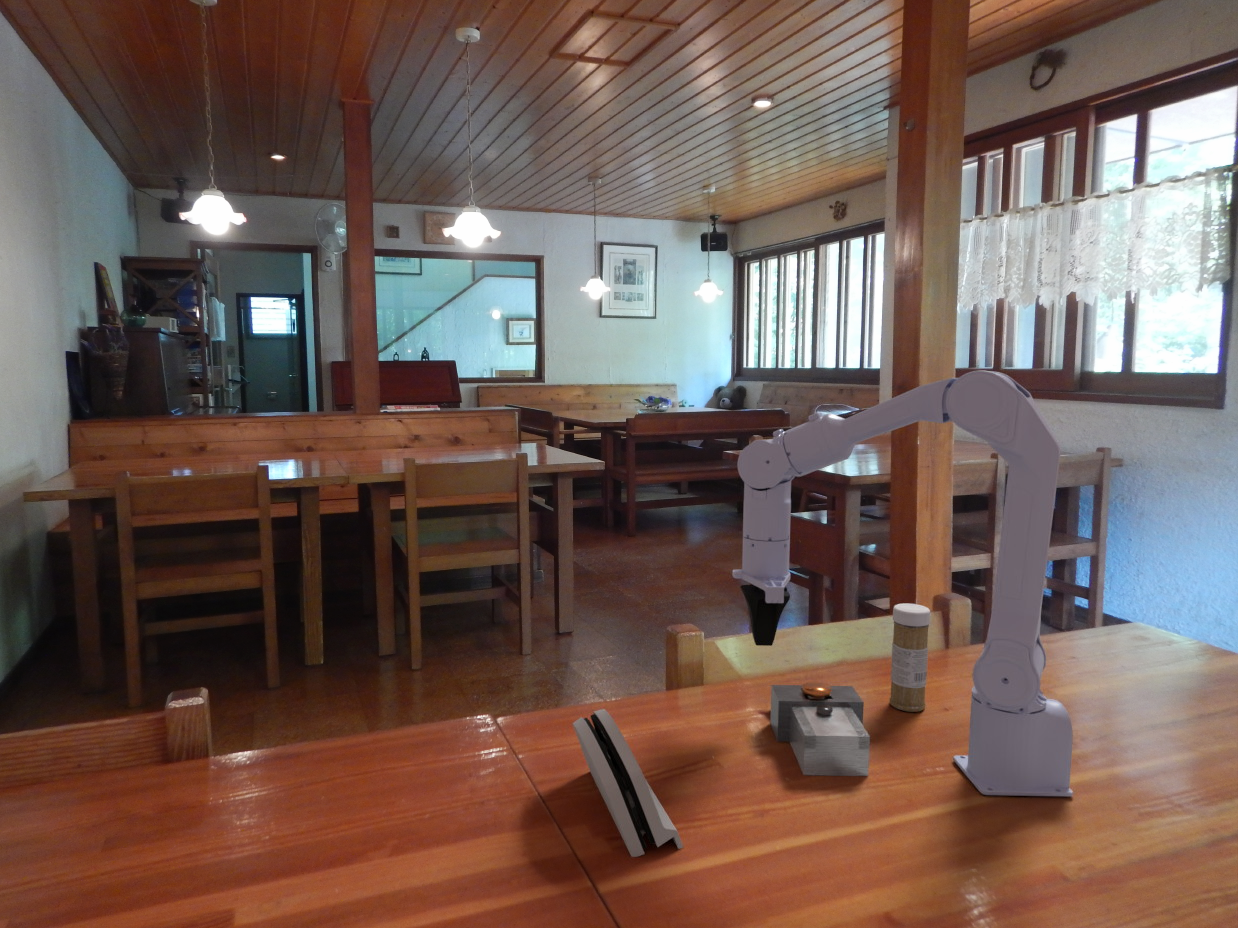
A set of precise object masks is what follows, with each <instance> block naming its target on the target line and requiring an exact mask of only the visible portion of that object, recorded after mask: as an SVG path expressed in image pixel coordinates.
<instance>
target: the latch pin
mask: <svg viewBox="0 0 1238 928" xmlns="http://www.w3.org/2000/svg"><path fill="white" fill-rule="evenodd" d="M802 685H803V686H802V692H803V693H804V694H805V695H807V696H808V699H825V697H829V696H830V695H831V687H830V686H831V685H828V684H826V683H823V682H818V681H810V682H809V681H808V682H805V683H803V684H802Z"/></svg>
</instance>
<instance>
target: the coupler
mask: <svg viewBox="0 0 1238 928" xmlns="http://www.w3.org/2000/svg"><path fill="white" fill-rule="evenodd" d="M802 686H803V684H771V693H770V694H771V695H770V726H771V728H772V731H773V734H774V737H775V739H776V741H777V742H780V743H781V742H785V743H786V742H787V743H790V712H791V705H798V706H818V705H828V706H850V707H851V708H852V710H853V711H854V713H855V714H856V716H857V717H858V719H859V721H860V722H861V724H862V725H863V726H864V707H865V706H864V705H865V704H864V703H865V702H864V701H863V699H862V698H861V696H860V695H859V694H858V692H857V690H856V689H855V688H854V686H853V685H829V686H830V687H831V695H830V696H829V697H825V699H808V696H807V695H805V694H804V693H803V692H802Z"/></svg>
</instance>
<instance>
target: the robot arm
mask: <svg viewBox="0 0 1238 928" xmlns="http://www.w3.org/2000/svg"><path fill="white" fill-rule="evenodd" d="M921 421H922V422H930V423H938V424H945V423H946V424H947V423H950V422H953V423H954V424H955V426H957V427H958V428H960V429H961V430H963V431H965V432H967V433H970V434H971V435H973V436H975V437H977V438H979V439H981V440H983V441H985V442H986V443H987V444H988V445H989V446H990V448H992V449H993V451H995V452H996V453H997V454H998V455H999V456H1000V457H1001V458H1002V459H1003V460H1004V461H1005V462H1006V463H1007V465H1008V471H1007V482H1006V488H1005V499H1004V506H1003V514H1002V524H1001V532H1000V539H999V540H1000V542H999V547H998V548H999V550H998V557H997V558H998V559H997V567H996V576H995V584H994V593H993V599H992V600H993V601H992V611H991V616H990V621H989V625H988V630H987V634H986V635H987V636H986V640H985V641H984V644H983V648H982V649H983V650H982V652H981V654H980V656H979V657H978V659H977V660H976V661H975V663H974V665H973V668H972V681H973V686H972V687H971V697H970V698H971V699H970V714H969V715H970V717H969V720H970V721H969V735H968V736H969V738H968V749H967V750H968V753H967V755H957V754H956V755H954V756H953V757H952V759H953V762H955V764H956V765H957V766H958V767H959V768H960V770H961V771H962V772H963V774H964V775H965V776H966V777H967V778H968V779H969V781H971V783H972V784H973V785H974V787H975V788H976V789H977V790H978V791H979V793H980V794H982V795H985V796H1019V797H1020V796H1022V797H1023V796H1026V797H1073V796H1074V791H1073V790H1072V789H1071V788H1070V786H1071V785H1070V784H1071V783H1070V782H1071V772H1072V771H1071V769H1072V755H1073V745H1074V743H1073V742H1074V741H1073V740H1074V735H1073V734H1074V733H1073V724H1072V720H1071V717H1070V714H1069V712H1068V711H1067V709H1066V707H1065V706H1064V704H1063V703H1062V702H1060V701H1059V700H1057V699H1052V698H1047V697H1046V695H1044V694H1043V691H1042V690H1041V687H1042V686H1041V679H1042V676H1043V675H1042V674H1043V672H1044V670H1045V668H1046V664H1047V654H1046V650H1045V648H1044V646H1043V642H1042V640H1041V634H1040V633H1041V622H1042V620H1041V617H1042V605H1043V600H1044V599H1043V597H1044V590H1045V583H1046V573H1047V567H1048V560H1049V550H1050V544H1051V535H1052V526H1053V518H1054V517H1053V516H1054V509H1055V502H1056V492H1057V485H1058V477H1059V469H1060V461H1061V453H1062V452H1061V451H1062V450H1061V445H1060V442H1059V440H1058V439H1057V437H1056V436H1055V435H1056V434H1054V432H1053V430H1052V429H1051V427H1050V425H1049V424H1048V423H1047V420H1046V418H1045V417H1044V415H1043V414H1042V412H1041V411H1040V409H1039V408H1038V406H1037V404H1036V402H1035V400H1034V398H1033V396H1032V394H1031V392H1029V391H1028V390H1027V389H1026V388H1025V387H1023V386H1022V385H1021V384H1020V383H1018V382H1017V380H1015V379H1013V378H1012V377H1011V376H1009V375H1007V374H1006V373H1002V372H998V371H992V370H991V371H990V370H989V371H988V370H973V371H970V372H966V373H964V374H962V375H961V376H959V377H950V378H946V379H945V378H944V379H942V380H937V381H934V382H930V383H927V384H923V385H920V386H917V387H915V388H912V389H911V390H910V389H909V390H907V391H905V392H903V393H901V394H899V395H897V396H894V397H893V398H890V399H887V400H886V401H883V402H881V403H879V404H876V405H874V406H872V407H869V408H867V409H865V410H862V411H861V412H858V413H855V414H854V415H851V416H849V417H847V418H844V417H841V416H840V415H836V414H835V413H830V412H829V413H826V414H822V412H816V413H813V414H811V415H808V421H807V422H804V423H802V424H799V425H797V426H794V427H792V428H790V429H787V430H785V431H784V429H783V428H781V429H777V430H775V431H773V433H772V435H773V437H772V438H770V439H756V440H753V441H752V442H751V443H750V444H747V445H746V446H744V447H743V449H742V450H741V451H740V452H739V456H738V459H737V471H738V474H739V476H740V478H741V480H742V482H743V484H744V486H743V487H744V488H743V516H742V517H743V521H742V523H743V524H742V558H741V559H742V560H741V561H742V562H741V565H742V567H741V568H740V569H733V570H732V573H731V575H732V577H733V578H734V579H739V580H740V579H741V580H743V581H745V582H747V583H748V584H741V585H740V587H739V588H740V590H741V591H742V594H743V596H744V600H745V603H746V605H747V609H748V614H749V619H750V627H751V633H752V639H753V641H754V644H755V646H756V647H757V646H764V647H766V646H767V647H768V646H769V647H770V646H771V647H772V646H773V644H774V642H775V637H776V635H777V629H778V625H779V621H780V619H781V615H782V613H783V611H784V609H785V608H786V606H787V604H788V603H789V600H790V598H791V594H790V593H789V591H788V587H787V585H788V583H789V582H790V581H791V572H790V549H791V548H790V547H791V545H790V544H791V539H790V538H791V513H792V512H791V511H792V498H791V493H792V481H793V480H794V479H795V477H803V476H806V475H808V474H811V473H813V472H815V471H819V470H821V469H823V468H827V467H830V466H833V465H835V464H837V463H840V462H844V461H845V460H848V459H849V458H850V457H851V455H852V453H853V450H854V448H855V446H856V445H857V444H858V443H861V442H863V441H866V440H869V439H873V438H875V437H878V436H881V435H883V434H884V435H885V434H887V433H889V432H892V431H894V430H897V429H901V428H903V427H907V426H909V425H913V424H915V423H917V422H921Z"/></svg>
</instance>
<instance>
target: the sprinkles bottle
mask: <svg viewBox="0 0 1238 928" xmlns="http://www.w3.org/2000/svg"><path fill="white" fill-rule="evenodd" d="M892 610H893V611H892V621H893V636H892V638H893V639H892V643H891V645H892V647H891V669H890V670H891V671H890V682H891V683H890V686H891V687H890V698H889V704H890V705H891V706H892V707H894V708H895V709H897V710H900V711H902V712H903V711H904V712H908V713H910V712H911V713H914V712H915V713H918V712H922V711H923V710H925V708H926V703H925V702H926V686H927V676H928V674H927V673H928V657H929V655H928V653H929V647H928V644H929V643H928V640H929V639H928V638H929V627H930V624H931V610H930V608H929V607H927V606H924V605H921V604H917V603H907V602H906V603H898V604H894V606H893V609H892Z"/></svg>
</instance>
